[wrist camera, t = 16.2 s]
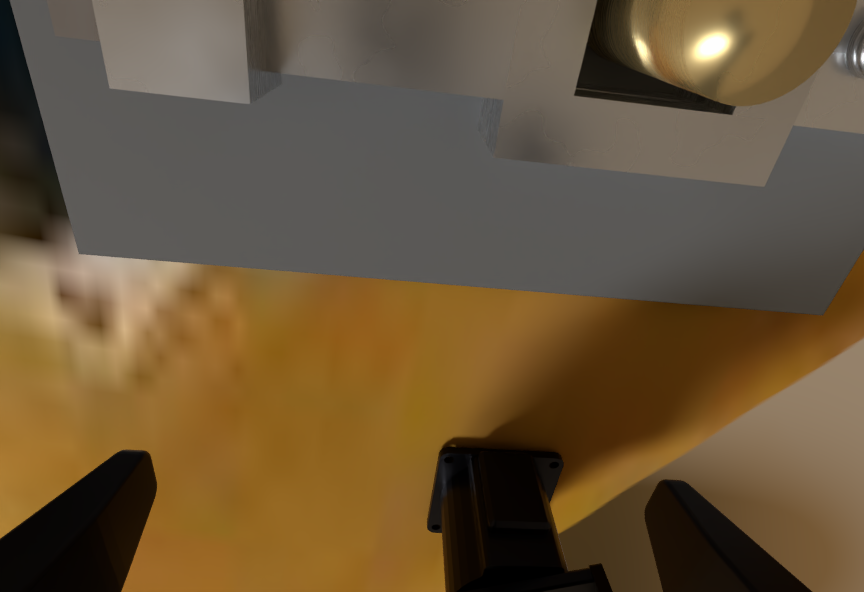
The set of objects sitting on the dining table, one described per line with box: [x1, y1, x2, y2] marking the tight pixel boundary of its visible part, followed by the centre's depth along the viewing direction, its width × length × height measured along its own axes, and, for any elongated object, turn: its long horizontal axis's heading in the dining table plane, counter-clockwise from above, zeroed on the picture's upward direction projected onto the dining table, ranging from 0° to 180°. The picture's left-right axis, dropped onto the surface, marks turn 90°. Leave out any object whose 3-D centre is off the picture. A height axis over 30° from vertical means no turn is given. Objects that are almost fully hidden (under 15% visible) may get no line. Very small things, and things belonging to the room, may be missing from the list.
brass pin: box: [587, 0, 857, 106], centre depth 12 cm, size 3×3×7 cm
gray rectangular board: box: [10, 0, 864, 315], centre depth 16 cm, size 16×30×1 cm, turn 83°
